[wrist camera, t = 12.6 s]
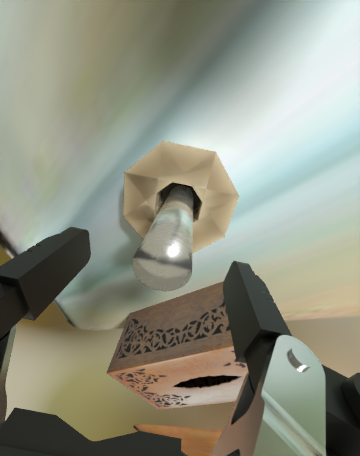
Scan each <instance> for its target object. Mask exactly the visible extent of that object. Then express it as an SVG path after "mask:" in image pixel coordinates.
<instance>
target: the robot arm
mask: <svg viewBox="0 0 360 456" xmlns="http://www.w3.org/2000/svg"><path fill="white" fill-rule="evenodd" d="M90 255H91V251H90V240H89V232H88V231H87V230H85V229H80V228H75V227H70V228H68V229H66V230H65V231H63V232H62V233H60V234H57V235H54V236H51V237H48V238H45V239H44V240H42V241H41V242H39V243H37V244H36V246H32V247H31V248H29V249H28V250H27V251H24V252H23V253H21V254H19V255H18V256H16V257H14V258H13V259H11V260H10V261H8V262H6V263H5V264H3V265H1V266H0V456H187V455H186V454H185V453H183V452H182V451H181V439H179V438H174V437H169V436H163V435H158V434H153V433H147V432H142V431H140V432H136V433H132V434H127V435H123V436H118V437H114V438H110V439H105V440H101V441H95V442H94V441H90V440H88V439H87V438H85V437H84V436H83V435H82V434H80V433H79V432H78V431H76V430H75V429H74V428H72V427H71V426H70V425H68V424H67V423H66V422H64V421H63V420H62V419H60V418H59V417H58V416H56V415H51V414H47V413H41V412H35V411H31V410H25V409H19V408H14V410H13V411H12V413H11V414H10V415H9V417H8V418H7V420H6V421H5V416H6V409H7V396H6V391H5V382H6V376H7V371H8V367H9V362H10V357H11V352H12V347H13V342H14V338H15V333H16V324H17V322H18V321H20V320H21V319H22V318H24V319H29V320H35V319H36V318H37V317H38V316H39V315H40V314H41V313H42V312H43V311H44V310H45V309H46V308H47V306H48V305H49V304H50V303H51V302H52V301H53V300H54V299H55V298H56V297H57V296H58V295H59V293H60V292H61V291H62V290H63V289H64V288H65V287H66V286H67V285H68V284H69V283H70V282H71V280H72V279H73V278H74V277H75V276H76V275H77V274H78V273H79V272H80V271H81V270H82V269H83V267H84V266H85V265H86V264H87V263H88V261H89V259H90ZM223 295H224V300H225V305H226V311H227V316H228V321H229V326H230V331H231V336H232V341H233V346H234V351H235V356H236V362H241V363H246V364H247V368H248V373H247V374H246V376H245V379H244V381H243V384H242V386H241V389H240V391H239V394H238V396H237V399H236V401H235V404H234V407H233V409H232V412H231V414H230V417H229V419H228V422H227V424H226V426H225V428H224V430H223V432H222V433H221V435H220V437H219V438H218V440H217V442H216V444H215V446H214V448H213V451H212V453H211V455H210V456H360V373H356V374H355V375H353V376H351V377H350V378H347V377H345V376H343V375H341V374H339V373H337V372H335V371H333V370H332V369H330V368H327V367H326V366H324V365H322V364H321V363H320V362H319V360H318V359H317V357H316V356H315V355H314V353H313V352H312V351H311V350H310V349H309V348H308V347H307V346H306V345H305V344H303V343H302V342H301V341H299V340H298V339H296V338H294V337H292V335H291V333H290V331H289V329H288V327H287V325H286V323H285V321H284V320H283V318H282V316H281V314H280V312H279V310H278V308H277V306H276V304H275V303H274V300H273V298H272V296H271V295H270V292H269V290H268V289H267V287H266V285H265V283H264V282H263V281H262V280H261V279H260V278H259V277H258V276H257V275H254V273H253V271H252V269H251V267H250V265H249V264H246V263H242V262H237V261H234V262H233V263H232V264H231V267H230V269H229V271H228V273H227V275H226V278H225V280H224V283H223Z"/></svg>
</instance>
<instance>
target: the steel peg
mask: <svg viewBox="0 0 360 456" xmlns="http://www.w3.org/2000/svg"><path fill="white" fill-rule="evenodd" d="M192 244H193V193H192V191H191V190H190V189H189V188H188V187H186V186H183V185H179V186H176V187H174V188H173V189H172V190H171V192H170V193H169V195H168V197H167V199H166V200H165V202H164V204H163V206H162V208H161V209H160V211H159V213H158V215H157V216H156V218H155V220H154V222H153V224H152V225H151V227H150V229H149V231H148V232H147V234H146V236H145V238H144V240H143V241H142V243H141V245H140V247H139V248H138V250H137V252H136V254H135V256H134V258H133V261H132V268H133V271H134V274H135V275H136V277H137V278H138V279H139V280H140V281H141V282H142V283H143V284H144V285H146V286H148V287H150V288H152V289H155V290H160V291H171V290H176V289H178V288H181V287H182V286H184V285H185V284H186V283H187V282H188V281H189V279H190V277H191V275H192Z"/></svg>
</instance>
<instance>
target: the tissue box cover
mask: <svg viewBox="0 0 360 456" xmlns="http://www.w3.org/2000/svg"><path fill="white" fill-rule="evenodd" d="M253 273H254V271H253ZM254 275H255V273H254ZM223 283H224V281H223V282H220V283H218V284H215V285H212V286H209V287H206V288H203V289H200V290H197V291H194V292H191V293H188V294H185V295H182V296H180V297H177V298H174V299H171V300H168V301H165V302H162V303H159V304H156V305H153V306H150V307H147V308H144V309H142V310H139V311H136V312H133V313H130V314H129V317H128V320H127V322H126V325H125V327H124V330H123V332H122V335H121V337H120V340H119V343H118V345H117V348H116V350H115V353H114V356H113V358H112V360H111V363H110V366H109V368H108V371H107V373H108V374H109V375H110V376H112V377H113V378H115V379H116V380H118V381H119V382H120V383H122V384H123V385H125V386H126V387H127V388H129V389H130V390H131V391H133V392H134V393H136V394H137V395H139V396H140V397H141V398H143V399H144V400H146V401H147V402H148V403H150V404H151V405H153V406H154V407H155V408H157V409H158V410H161V409H170V408H179V407H188V406H198V405H207V404H216V403H225V402H235V401H236V399H237V396H238V394H239V391H240V389H241V386H242V384H243V381H244V379H245V376H246V374H247V373H248V368H247V364H246V363H241V362H236V356H235V351H234V346H233V341H232V336H231V331H230V326H229V321H228V316H227V311H226V305H225V300H224V295H223Z"/></svg>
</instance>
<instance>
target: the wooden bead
mask: <svg viewBox="0 0 360 456" xmlns="http://www.w3.org/2000/svg"><path fill="white" fill-rule="evenodd" d="M124 173H125V174H124V215H123V217H124V218H125V219H126V220H127V221H128V222H129V224H130V225H131V226H132V227H133V228H134V229H135V230H136V232H137V233H138V234H139V235H140V236H141V237H142V238H143V240H144V238H145V236H146V234H147V232H148V231H149V229H150V227H151V225H152V224H153V222H154V220H155V218H156V216H157V215H158V213H159V211H160V209H161V208H162V206H163V203H162V201H161V198H162V190H163V188H165V187H166V186H168V185H169V184H170V183H172V182H174V183H179V184H183V185H188V186H192V187H193V189H194V190H195V192H196V193H197V195H198V196H199V198H200V199H199V203H198V207H197V209H195V210H194V211H193V244H192V253H194V252H196V251H198V250H200V249H202V248H204V247H206V246H208V245H210V244H212V243H214V242H216V241H218V240H220V239H222V238H224V236H225V234H226V231H227V228H228V226H229V223H230V220H231V217H232V215H233V212H234V209H235V207H236V204H237V201H238V198H239V195H238V193H237V191H236V189H235V187H234V185H233V184H232V182H231V180H230V178H229V176H228V174H227V172H226V170H225V169H224V167H223V165H222V163H221V161H220V159H219V157H218V155H217V153H216V152H214V151H209V150H204V149H199V148H195V147H190V146H185V145H180V144H176V143H171V142H166V141H162V142H161V143H160V144H159V145H157V146H156V147H155V148H154V149H152V150H151V151H150V152H149V153H148V154H146V155H145V156H144V157H143V158H141V159H140V160H139V161H138V162H137V163H135V164H134V165H133V166H132V167H131V168H129V169H128V170H127V171H126V172H124Z"/></svg>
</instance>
